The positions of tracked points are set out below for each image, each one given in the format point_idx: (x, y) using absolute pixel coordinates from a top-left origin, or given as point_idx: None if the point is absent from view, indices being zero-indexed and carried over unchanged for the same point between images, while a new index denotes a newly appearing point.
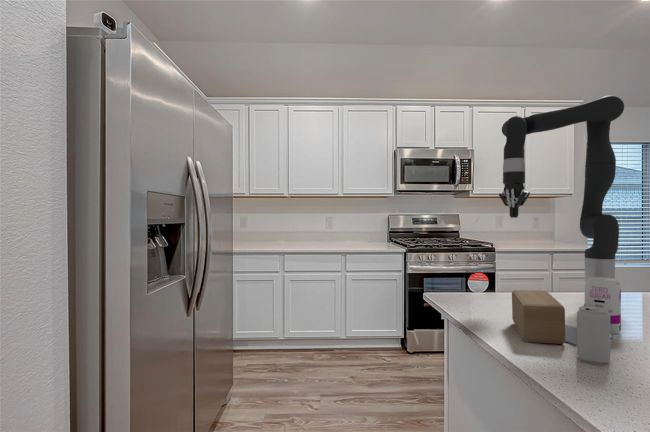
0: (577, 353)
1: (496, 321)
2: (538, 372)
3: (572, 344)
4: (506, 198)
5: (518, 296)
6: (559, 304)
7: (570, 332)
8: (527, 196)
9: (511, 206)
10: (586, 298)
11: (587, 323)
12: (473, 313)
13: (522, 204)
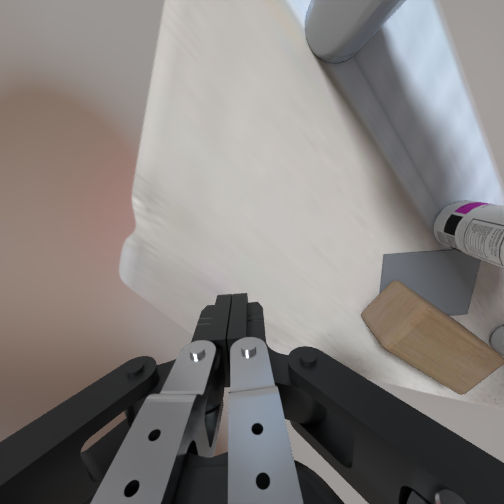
0: (497, 350)
1: (340, 327)
2: (485, 397)
3: (462, 313)
4: (62, 486)
5: (424, 370)
6: (499, 362)
7: (435, 279)
8: (476, 463)
9: (222, 393)
10: (479, 257)
11: None
12: (288, 329)
13: (325, 364)
